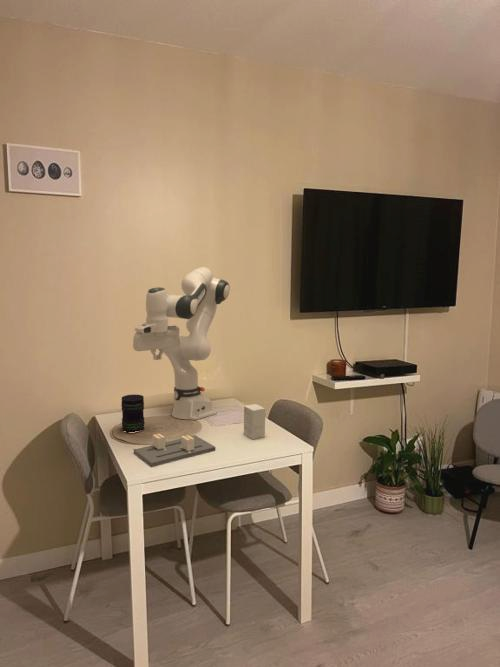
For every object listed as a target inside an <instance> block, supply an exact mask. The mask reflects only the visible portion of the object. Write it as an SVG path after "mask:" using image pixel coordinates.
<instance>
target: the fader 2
mask: <svg viewBox="0 0 500 667" xmlns="http://www.w3.org/2000/svg"><path fill="white" fill-rule="evenodd" d="M191 436H192V435H191ZM191 436H190V435H189V434H186V435H182V436H181V437H180V439H181V447H182V448H183V449H185V450H186V451H191V450H194V438H192V437H191Z"/></svg>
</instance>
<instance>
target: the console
mask: <svg viewBox="0 0 500 667" xmlns="http://www.w3.org/2000/svg"><path fill="white" fill-rule="evenodd" d="M191 437H192V438H194V450H191V451H186V450H185V449H183V448H182V447H181V438H178V439H174V440H169V441H165V448H163V449H159V450H158V449H157V448H155V447H154V446H153V444H152V445H147V446H144V447H143V446H142V447H140V448H139V447H138V448H134V449H133V454H134V455H135V456H137V457H138V458H140V459H141V460H142V461H143V462H145V463H146V464H147V465H148V466H150V467H152V468H153V467H157V466H160V465H164V464H168V463H172V462H176V461H179V460H185V459H188V458H191V457H195V456H199V455H203V454H206V453H210V452H215V451H216V446H215V445H213V444H212V443H210V442H208V441H206V440H205V439H202V438H201V437H199V436H197V435H191Z"/></svg>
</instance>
